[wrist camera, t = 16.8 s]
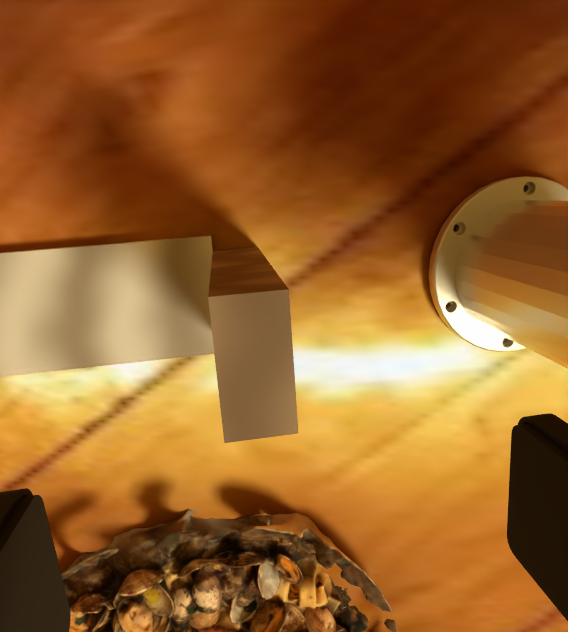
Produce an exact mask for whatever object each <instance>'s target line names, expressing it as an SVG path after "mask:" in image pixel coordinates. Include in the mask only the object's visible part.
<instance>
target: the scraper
mask: <svg viewBox="0 0 568 632" xmlns="http://www.w3.org/2000/svg"><path fill="white" fill-rule="evenodd" d="M206 354H215V363H216V371H217V380H218V389H219V398H220V407H221V416H222V424H223V433H224V442H225V443H228V442H235V441H243V440H251V439H259V438H266V437H274V436H282V435H289V434H297V433H298V420H297V406H296V391H295V376H294V362H293V347H292V332H291V317H290V303H289V289H288V288H287V286H286V285H285V284H284V282H283V281H282V280H281V278H280V277H279V276H278V274H277V273H276V271H275V270H274V269H273V267H272V266H271V265H270V263H269V262H268V261H267V259H266V258H265V256H264V255H263V254H262V252H261V251H260V250H259V248H258V247H246V248H234V249H223V250H213V247H212V238H211V235H209V236H197V237H184V238H172V239H160V240H147V241H135V242H123V243H110V244H98V245H86V246H73V247H61V248H49V249H36V250H24V251H12V252H0V377H3V376H12V375H21V374H31V373H40V372H49V371H58V370H67V369H77V368H86V367H95V366H104V365H113V364H123V363H132V362H141V361H150V360H160V359H169V358H178V357H187V356H196V355H206Z"/></svg>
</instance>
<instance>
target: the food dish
mask: <svg viewBox="0 0 568 632" xmlns="http://www.w3.org/2000/svg"><path fill="white" fill-rule="evenodd" d="M192 513H196V512H195V511H193V510H190V509H188V510H187V512H186V513H185V514H184V515H182V516H181V517H180V519H177V520H174V521H171V522H169V523H163V524H158V525H156V526H153V527H150V528H149V527H148V528H135V529H132V530H131V531H129V532H127V531H126V532H123V533H122V534H120V535H117V536H115V537H114V540H113V542H112V543H111V545H110V546H109V547H107V548H105V549H102V550H100V551H98V552H92V553H83V554H81V555H80V556H78V557H77V558H76V559H75V560H74V561H73V563H72V564H71V565H70V566H69V567H68V569H67V570H65V571H64V572H62V573H61V575H62V579H63V583H64V587H65V591H66V595H67V599H68V603H69V607H70V614H71V621H70V629H69V632H363V631H364V630H366V629H367V626H368V619H367V618H366V617H365V616H364V615H363V614H362V613H360V612H359V611H358V609H357V607H355V606H349V605H348V603H349V602H350V601H351V598H350V597H349V596H348V595H347V591H346V590H347V588H345V590H344V592H343V590H341V589H342V587H338V586H334V584H333V581H332V579H331V577H330V576H329V575H327V574H326V573H325V572H323V571H322V567H325V568H326V569H328V568H332V566H333V564H334V563H336V564H337V565H338V566H339V567H340V568H341V569H342V572H341V577H342V578H344V579H345V580H346V581H347V582H349V583H350V584H351V585H355V586H357V587H360V588H361V589H362V590H363V592H364V594H365V595H366V599H367V600H368V601H370V602H371V603H373V604H375V605H377V606H378V607H380V608H381V609H382V610H383V611H389V612H391V613H393V612H392V611H391V607H390V605H389V603H388V601H387V600H386V599H385V598H384V596H383V593H382V592H381V591H380V589H379V588H378V587H377V586H376V584H375V583H374V582H373V580H371V579H370V578H369V577H368V575H367V573H366V572H365V571H364V570H363V569H361V568H360V567H359V566H358V565H357V564H356V563H355V562H353V561H352V560H351V559H349V558H348V557H347V556H346V555H345V554H344V553H342V552H341V551H340V550H339V549H338V548H337V547H336V546H335V545H334V544H333V543H332V541H331V539H330V538H328V537H326V536H324V535H323V534H322V533H321V532H320V531H319V529H318V528H317V526H316V525H315V524H314V523H313V522H312V520H311V519H310V518H308V517H307V516H304V515H302V514H298V513H292V514H276V515H270V514H266V513H264V514H256V515H249V516H246V517H242V518H237V519H213V518H210V519H201V518H200V519H193V518H191V514H192ZM314 551H316V553H315V554H314ZM341 592H343V593H341ZM346 606H347V607H346ZM343 607H346V608H344V609H342V608H343ZM338 611H340V613H338ZM384 624H385V625H386V627H387V628H388V629H390V630H391V631H392V632H397V628H396V625H395V621H394V620H390V619H386V621H385V623H384Z"/></svg>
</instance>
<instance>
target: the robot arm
mask: <svg viewBox="0 0 568 632" xmlns="http://www.w3.org/2000/svg"><path fill="white" fill-rule="evenodd" d="M523 188H524V189H523ZM454 225H456V230H455V231H454V230H453V228H454ZM429 286H430V293H431V296H432V300H433V303H434V306H435V308H436V310H437V312H438V314H439V316H440V318H441V319H442V321H443V322H444V323H445V324H446V325H447V326H448V328H449V329H450V330H451V331H452V332H454V333H455V334H456V335H458V336H459V337H460V338H461V339H463V340H465V341H467V342H469V343H470V344H472V345H474V346H477V347H480V348H483V349H486V350H490V351H498V352H508V351H518V350H522V349H526V348H528V349H530V350H532V351H534V352H536V353H538V354H540V355H542V356H544V357H546V358H548V359H550V360H552V361H554V362H556V363H558V364H560V365H562V366H564V367H566V368H568V188H566V187H564V186H563V185H561V184H559V183H558V182H555V181H552V180H548V179H545V178H541V177H528V176H524V177H511V178H506V179H502V180H498V181H494V182H492V183H490V184H488V185H486V186H483V187H481V188H479V189H478V190H476V191H475V192H473V193H472V194H471V195H469V196H468V197H466V198H465V199H464V200H463V201H462V202H461V203H460V204H459V205H458V206H457V207H456V208H455V209H454V210H453V211H452V212H451V214H450V215H449V217H448V218H447V220H446V221H445V222H444V224H443V225H442V227H441V229H440V231H439V234H438V236H437V238H436V240H435V242H434V246H433V249H432V253H431V257H430V264H429ZM447 303H448V306H447V307H445V306H446V304H447ZM507 539H508V543H509V546H510V549H511V551H512V553H513V554H514V556H515V557H516V558H517V559H518V561H519V562H520V563H521V564H522V566H523V567H524V568H525V569H526V570H527V572H528V573H529V574H530V575H531V577H532V578H533V579H534V580H535V582H536V583H537V584H538V585H539V586H540V588H541V589H542V590H543V591H544V593H545V594H546V595H547V596H548V598H549V599H550V600H551V601H552V602H553V604H554V605H555V606H556V607H557V609H558V610H559V611H560V612H561V614H562V615H563V616H564V617H565V618H566V620H567V621H568V423H566V422H564V421H563V420H561V419H560V418H558V417H557V416H555V415H553V414H541V415H534V416H527V417H523V418H521V419H520V421H519V423H518V425H516V426H514V427H513V429H512V438H511V459H510V480H509V502H508V523H507ZM70 621H71V614H70V607H69V603H68V599H67V595H66V591H65V587H64V583H63V579H62V575H61V571H60V567H59V563H58V559H57V555H56V551H55V547H54V543H53V539H52V535H51V531H50V527H49V523H48V519H47V515H46V511H45V507H44V503H43V500H42V498H41V496H39V495H34V496H33V494H32V492H31V491H30V490H29V489H27V488H26V489H19V490H12V491H5V492H0V632H69V629H70Z"/></svg>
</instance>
